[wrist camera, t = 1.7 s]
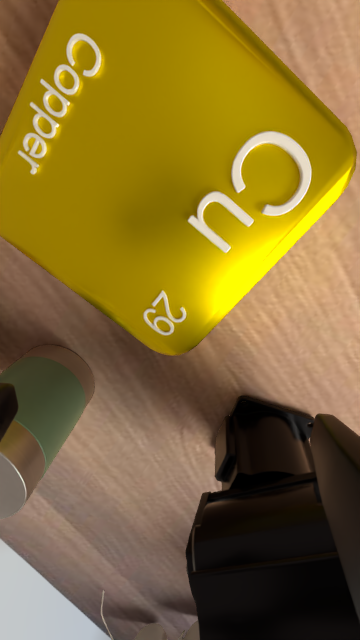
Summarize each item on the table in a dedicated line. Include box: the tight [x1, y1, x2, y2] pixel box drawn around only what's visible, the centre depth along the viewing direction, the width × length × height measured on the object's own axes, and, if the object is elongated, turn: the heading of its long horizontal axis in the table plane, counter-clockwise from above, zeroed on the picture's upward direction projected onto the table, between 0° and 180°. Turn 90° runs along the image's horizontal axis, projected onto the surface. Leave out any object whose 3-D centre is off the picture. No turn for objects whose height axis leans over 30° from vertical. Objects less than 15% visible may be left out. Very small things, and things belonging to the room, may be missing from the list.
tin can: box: [0, 345, 95, 519], centre depth 21 cm, size 7×7×10 cm
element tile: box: [0, 0, 357, 356], centre depth 17 cm, size 15×15×5 cm
